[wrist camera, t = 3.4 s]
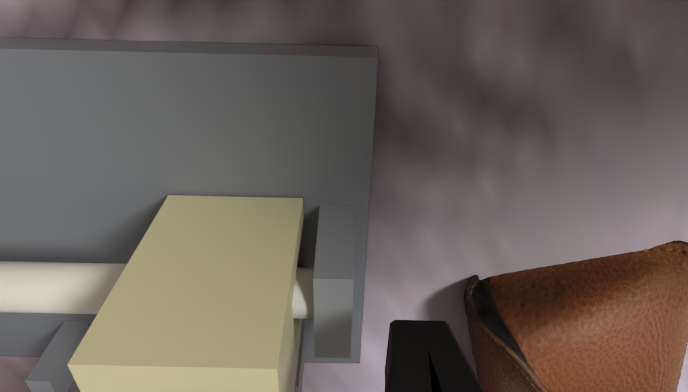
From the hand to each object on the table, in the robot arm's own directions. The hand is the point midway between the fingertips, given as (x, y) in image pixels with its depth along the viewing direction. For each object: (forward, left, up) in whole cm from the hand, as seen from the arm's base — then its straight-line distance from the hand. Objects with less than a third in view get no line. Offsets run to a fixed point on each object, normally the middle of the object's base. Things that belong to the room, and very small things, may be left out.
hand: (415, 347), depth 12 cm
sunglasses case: (-10, -9, -6) cm, 14 cm away
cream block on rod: (0, +5, -4) cm, 6 cm away
